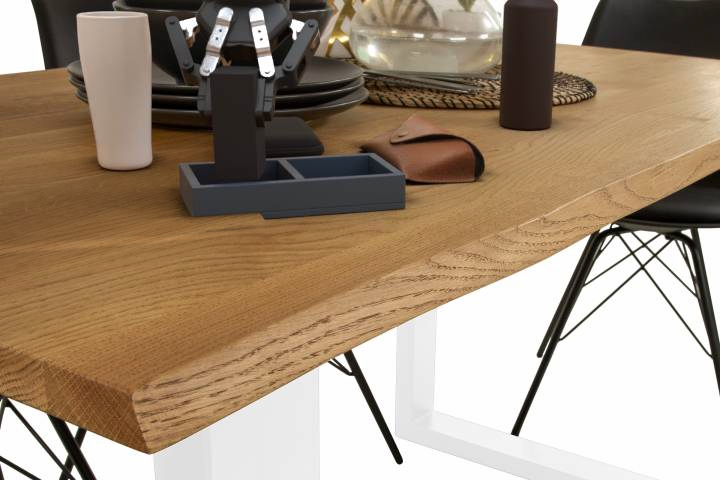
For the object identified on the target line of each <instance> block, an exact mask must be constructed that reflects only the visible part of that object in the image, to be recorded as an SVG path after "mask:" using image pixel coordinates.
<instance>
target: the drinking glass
mask: <svg viewBox="0 0 720 480" xmlns="http://www.w3.org/2000/svg"><path fill="white" fill-rule="evenodd" d="M76 29H77V42H78V43H77V44H78V52H79V59H80V65H81V70H82V76H83V81H84V87H85V91H86V96H87V102H88V108H89V113H90V119H91V123H92V129H93V134H94V140H95V147H96V157H97V163H98V165H99V166H100V167H102V168H104V169H106V170H110V171H111V170H112V171H133V170H140V169H144V168H147V167H148V166H150V165H151V164H152V162H153V157H154V156H153V146H152V145H153V144H152V105H153V103H152V102H153V101H152V100H153V99H152V97H153V95H152V93H153V92H152V91H153V90H152V89H153V87H152V85H153V55H152V38H151V30H150V22H149V15H148V13H145V12H138V11H87V12H80V13H77V14H76Z"/></svg>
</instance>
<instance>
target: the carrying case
mask: <svg viewBox="0 0 720 480" xmlns="http://www.w3.org/2000/svg"><path fill="white" fill-rule="evenodd" d="M265 151H266V159H270V158H288V157H307V156H324V154H325V146H324V144H323V142H322V141H321V139H320V138H319V137H318V136H317V135H316V133H315V132H314V131H313V130H312V128H311V127H310V126H309V125H308V123H307V122H306V121H305V120H304V119H302V118H301V117H297V116H274V118H273V119H272V121H266V127H265Z"/></svg>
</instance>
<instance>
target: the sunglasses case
mask: <svg viewBox="0 0 720 480" xmlns="http://www.w3.org/2000/svg"><path fill="white" fill-rule="evenodd" d="M358 149H360V150H362V151H365V153H375V154H376V155H378V156H379V157H381V158H382V159H383V160H385V161H386V162H388V163H389V164H391V165H392V166H394V167H395V168H396V169H398V170H399V171H401V172H402V173H404V174H405V175H406V176H405V181H410V182H414V183H427V184H439V185H440V184H457V183H462V184H463V183H474V182H476V181H478V179H480V178H481V177H482V175H483V174H484V172H485V169H486V163H485V162H486V160H485V158H484V155H483V153H482V151H481V150H480V149H479V147H478V146H477V145H476V144H474V143H473V142H472V141H471V140H468V139H467V138H465V137H463V136H460V135H457V134H455V133H453V132H451V131H449V130H448V129H445V128H444V127H442V126H440V125H439V124H436V123H434V122H432V121H430V120H427V119H425V118H424V117H422V116H421V115H420V114H419V113H418V112H414V113H413V114H411V115H410V116H409V117H408V118H406V120H405V121H404V122H403V123H401V124H399V125H396V126H395V127H393V128H390V129H388V130H386V131H385V132H382V133H380V134H378V135H377V136H374V137H372V138H370V139H368V140H366V141H365V142H363V143H362V144H359V146H358Z"/></svg>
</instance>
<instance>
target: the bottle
mask: <svg viewBox="0 0 720 480" xmlns="http://www.w3.org/2000/svg"><path fill="white" fill-rule="evenodd" d="M558 5H559V4H558V3H557V2H556V1H555V0H506V1H505V3H504V4H503V13H502V14H503V15H502V16H503V17H502V41H501V62H500V63H501V64H500V66H501V67H500V87H499V88H500V89H499V110H498V111H499V114H498V123H499V125H500V126H501V127H503V128H507V129H511V130H518V131H538V130H539V131H540V130H545V129H548V128H550V127H552V120H553V105H554V87H555V86H554V85H555V69H556V54H557V53H556V51H557V36H558V18H559V6H558Z"/></svg>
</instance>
